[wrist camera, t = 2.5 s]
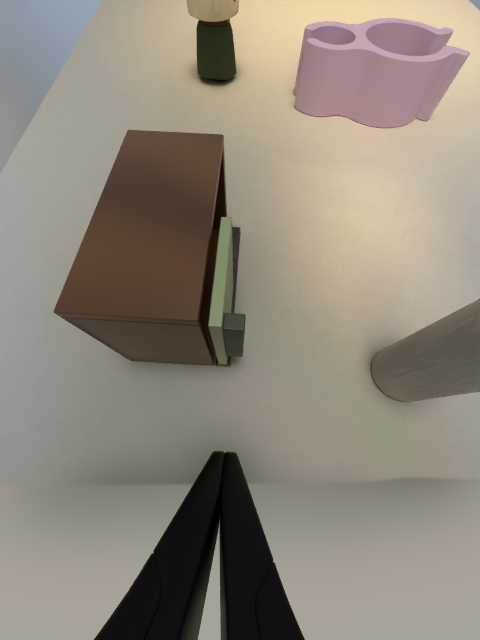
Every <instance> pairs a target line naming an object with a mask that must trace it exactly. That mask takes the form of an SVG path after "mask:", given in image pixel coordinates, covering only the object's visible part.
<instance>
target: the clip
mask: <svg viewBox="0 0 480 640" xmlns="http://www.w3.org/2000/svg"><path fill="white" fill-rule="evenodd" d="M453 31H454V30H453V29H451V28H447V27H445V28H442V29H437V28H434V27H432V26H429V25H427V24H423V23H420V22H416V21H411V20H405V19H396V18H383V19H375V20H370V21H367V22H364V23H361V24H345V23H339V22H317V23H312V24H310V25H308V26H306V27H305V31H304V37H303V43H302V48H301V54H300V60H299V66H298V71H297V77H296V83H295V89H294V95H297V96H296V102H295V108H296V109H298V110H299V111H301V112H303V113H305V114H308V115H313V116H331V115H340V116H345V117H348V118H350V119H352V120H354V121H356V122H359V123H361V124H365V125H368V126H373V127H381V128H392V127H399V126H403V125H405V124H408V123H409V122H411V121H412V120H413V119H415V118H418V119H420V120H423V121H427V120H428V119H429V118H430V116H431V115H432V113H433V111H434V110H435V108H436V107H437V105H438V103H439V102H440V100H441V99H442V97H443V96H444V94H445V92H446V91H447V89H448V88H449V86H450V84H451V83H452V81H453V80H454V78H455V76H456V75H457V73H458V72H459V70H460V68H461V67H462V65H463V64H464V62H465V60H466V59H467V57H468V56H469V54H470V53H469V52H468V51H465V50H462V49H459V48H456V47H451V46H446V44H447V42H448V40H449V39H450V37H451V35H452V33H453Z"/></svg>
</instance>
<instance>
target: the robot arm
mask: <svg viewBox="0 0 480 640" xmlns="http://www.w3.org/2000/svg"><path fill="white" fill-rule="evenodd" d="M219 521H220V603H221V604H220V605H221V640H305V639H304V637H303V635H302V633H301V630H300V628H299V625H298V623H297V621H296V618H295V616H294V614H293V611H292V609H291V606H290V604H289V601H288V599H287V596H286V593H285V591H284V588H283V585H282V583H281V580H280V577H279V574H278V572H277V568H276V566H275V563H274V562H273V557H272V554H271V551H270V549H269V546H268V543H267V540H266V537H265V534H264V531H263V528H262V525H261V523H260V519H259V517H258V514H257V511H256V508H255V505H254V503H253V499H252V496H251V493H250V491H249V488H248V485H247V482H246V479H245V476H244V473H243V470H242V467H241V464H240V461H239V459H238V456H237V454H236V453H235V452H226V453H224V452H223V451H214V452H213V453H212V454H211V456H210V458H209V459H208V461H207V463H206V464H205V466H204V468H203V469H202V471H201V473H200V474H199V476H198V478H197V479H196V481H195V483H194V484H193V486H192V488H191V489H190V491H189V493H188V494H187V496H186V498H185V499H184V501H183V503H182V504H181V506H180V508H179V509H178V511H177V513H176V514H175V516H174V517H173V519H172V521H171V523H170V524H169V526H168V528H167V529H166V531H165V533H164V534H163V536H162V537H161V539H160V541H159V542H158V544H157V546H156V547H155V549H154V554H153V553H152V554H151V555H150V557H149V559H148V560H147V562H146V564H145V565H144V567H143V569H142V570H141V572H140V574H139V575H138V577H137V578H136V580H135V581H134V583H133V585H132V586H131V588H130V589H129V591H128V592H127V594H126V595H125V597H124V598H123V600H122V601H121V602H120V604H119V605H118V607H117V608H116V610H115V611H114V612H113V614H112V615H111V617H110V618H109V620H108V621H107V622H106V624H105V625H104V627H103V628H102V629H101V631H100V632H99V633H98V635H97V636H96V638H95V639H94V640H198V635H199V629H200V624H201V618H202V613H203V608H204V603H205V597H206V592H207V587H208V582H209V576H210V570H211V566H212V560H213V555H214V550H215V544H216V539H217V534H218V528H219Z"/></svg>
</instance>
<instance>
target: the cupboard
mask: <svg viewBox="0 0 480 640" xmlns="http://www.w3.org/2000/svg"><path fill="white" fill-rule="evenodd" d="M221 217H227V205H226V182H225V159H224V136H223V135H219V134H200V133H180V132H160V131H140V130H128V131H127V133H126V136H125V138H124V140H123V143H122V145H121V148H120V150H119V153H118V155H117V158H116V160H115V162H114V165H113V167H112V170H111V172H110V175H109V177H108V180H107V182H106V184H105V187H104V189H103V192H102V194H101V197H100V199H99V202H98V204H97V206H96V209H95V211H94V214H93V216H92V219H91V221H90V224H89V226H88V228H87V231H86V233H85V236H84V238H83V241H82V243H81V246H80V248H79V251H78V253H77V255H76V258H75V260H74V263H73V265H72V268H71V270H70V273H69V275H68V277H67V280H66V282H65V285H64V287H63V290H62V292H61V295H60V297H59V299H58V302H57V304H56V307H55V309H54V313H55V314H57V315H58V316H60V317H62V318H63V319H65V320H66V321H68V322H69V323H71V324H73V325H74V326H76V327H77V328H79V329H81V330H82V331H84V332H85V333H87V334H89V335H90V336H92V337H93V338H95V339H97V340H98V341H100V342H101V343H103V344H105V345H106V346H108V347H109V348H111V349H113V350H114V351H116V352H118V353H119V354H121V355H122V356H124V357H126V358H127V359H129V360H131V361H146V362H163V363H180V364H196V365H214V359H215V348H214V345H213V341H212V337H211V334H210V330H209V327H208V323H209V315H210V306H211V298H212V289H213V281H214V273H215V264H216V256H217V247H218V239H219V231H220V222H221ZM239 241H240V228H239V227H232V248H233V296H232V308H231V313H232V314H234V309H235V295H236V282H237V268H238V254H239ZM230 363H231V356H228V359H227V364H219V363H218V359H217V358H216V366H229V367H230Z"/></svg>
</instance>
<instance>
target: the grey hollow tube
mask: <svg viewBox="0 0 480 640" xmlns="http://www.w3.org/2000/svg"><path fill="white" fill-rule="evenodd" d="M371 371H372V376H373V379H374V381H375V383H376V384H377V386H378V387H379V388H380V390H381V391H382V392H383V393H385V394H386V395H387V396H389V397H391V398H393V399H395V400H398V401H417V400H424V399H431V398H438V397H445V396H452V395H459V394H466V393H473V392H480V299H479V300H477V301H475V302H473V303H471V304H469V305H467V306H465V307H463V308H461V309H459V310H457V311H456V312H454V313H452V314H450V315H448V316H446V317H444V318H442V319H440V320H438V321H436V322H435V323H433V324H431V325H429V326H427V327H425V328H423V329H421V330H419V331H417V332H415V333H413V334H412V335H410V336H408V337H406V338H404V339H402V340H400V341H398V342H396V343H394V344H392V345H390V346H389V347H387V348H385V349H383V350H381V351H380V352H379V353H377V354H376V355H375V357H374V359H373V361H372V366H371Z"/></svg>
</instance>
